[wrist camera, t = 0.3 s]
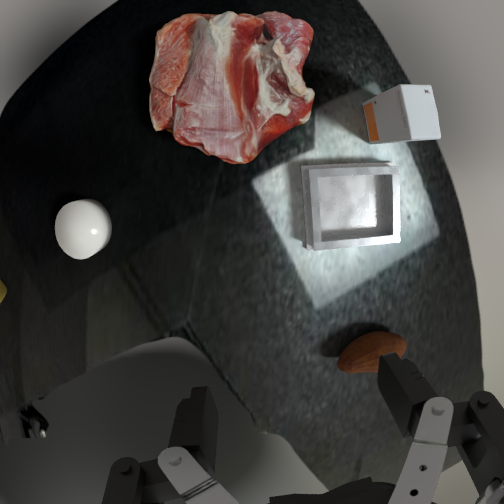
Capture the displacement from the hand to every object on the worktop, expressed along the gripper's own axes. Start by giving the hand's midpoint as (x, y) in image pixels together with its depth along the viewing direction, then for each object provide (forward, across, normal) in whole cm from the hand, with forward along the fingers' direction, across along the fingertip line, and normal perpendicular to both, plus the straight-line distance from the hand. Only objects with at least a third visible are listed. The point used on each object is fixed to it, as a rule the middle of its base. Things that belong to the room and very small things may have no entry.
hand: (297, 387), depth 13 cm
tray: (+29, -12, -2) cm, 31 cm away
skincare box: (+29, -18, -13) cm, 37 cm away
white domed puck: (+30, +24, -6) cm, 39 cm away
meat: (+30, 0, -20) cm, 36 cm away
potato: (+28, -14, +20) cm, 37 cm away
